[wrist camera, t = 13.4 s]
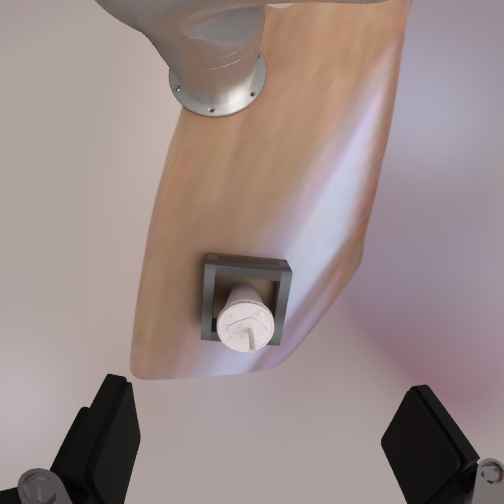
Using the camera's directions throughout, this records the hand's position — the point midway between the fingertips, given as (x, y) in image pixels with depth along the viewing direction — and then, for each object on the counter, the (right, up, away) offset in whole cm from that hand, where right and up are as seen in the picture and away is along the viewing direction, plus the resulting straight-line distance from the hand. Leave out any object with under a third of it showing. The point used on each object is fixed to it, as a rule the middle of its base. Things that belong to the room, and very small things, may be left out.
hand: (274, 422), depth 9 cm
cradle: (-2, 0, +34) cm, 34 cm away
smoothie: (-2, 0, +34) cm, 34 cm away
